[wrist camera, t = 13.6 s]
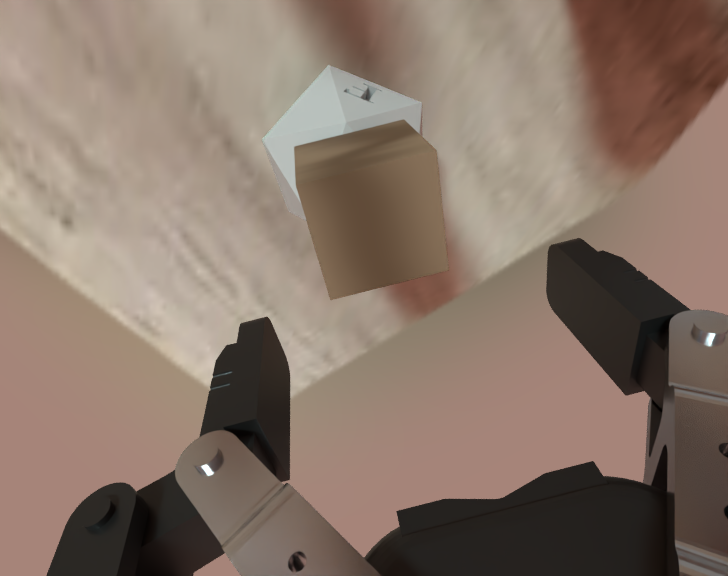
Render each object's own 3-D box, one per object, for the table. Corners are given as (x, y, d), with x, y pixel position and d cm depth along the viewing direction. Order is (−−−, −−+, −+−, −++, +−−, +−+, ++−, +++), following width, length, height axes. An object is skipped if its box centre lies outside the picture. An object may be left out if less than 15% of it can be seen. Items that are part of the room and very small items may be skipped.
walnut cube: (404, 119, 19) (436, 150, 15) (418, 220, 22) (448, 270, 18) (293, 146, 19) (295, 185, 15) (322, 244, 22) (330, 300, 18)
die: (433, 151, 28) (470, 69, 19) (384, 271, 28) (395, 249, 18) (320, 105, 29) (298, 0, 19) (268, 223, 28) (219, 176, 19)
